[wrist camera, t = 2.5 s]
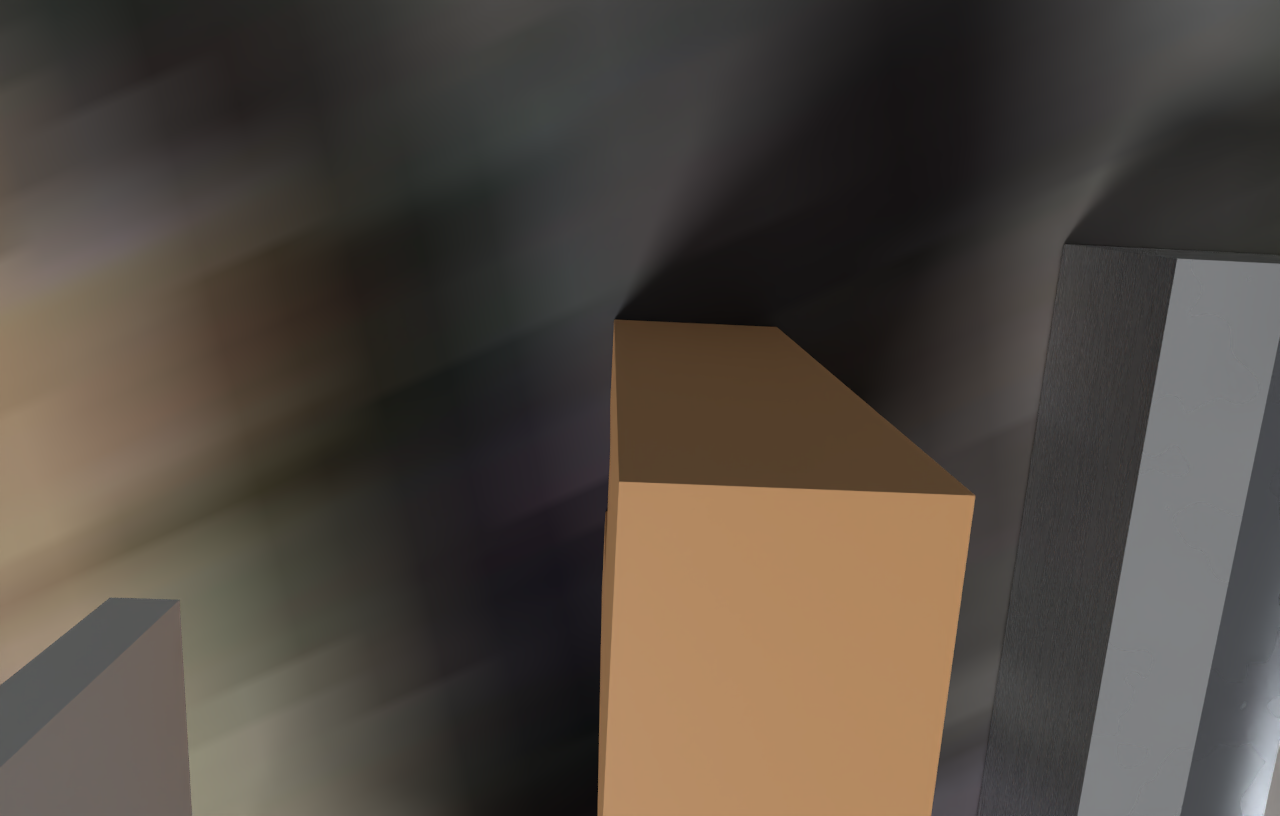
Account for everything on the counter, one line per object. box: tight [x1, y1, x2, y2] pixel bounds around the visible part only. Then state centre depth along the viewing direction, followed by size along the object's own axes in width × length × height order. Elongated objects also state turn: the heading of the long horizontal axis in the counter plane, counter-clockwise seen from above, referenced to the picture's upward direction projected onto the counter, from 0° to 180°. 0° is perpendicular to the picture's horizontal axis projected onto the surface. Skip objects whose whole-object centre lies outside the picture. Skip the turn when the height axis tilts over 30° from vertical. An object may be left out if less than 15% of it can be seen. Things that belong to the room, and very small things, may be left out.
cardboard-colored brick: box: [598, 320, 975, 816], centre depth 15 cm, size 6×3×11 cm, turn 177°
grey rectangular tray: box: [977, 244, 1280, 816], centre depth 20 cm, size 20×9×4 cm, turn 177°
